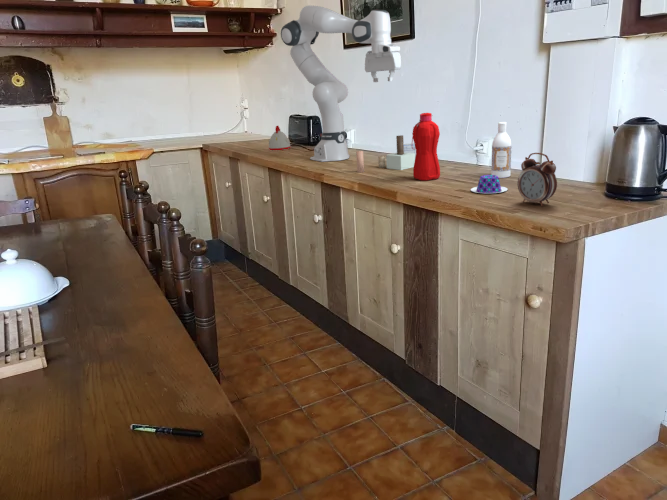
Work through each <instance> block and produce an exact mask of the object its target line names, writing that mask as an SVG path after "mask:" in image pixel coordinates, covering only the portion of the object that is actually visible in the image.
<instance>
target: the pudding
mask: <svg viewBox="0 0 667 500" xmlns="http://www.w3.org/2000/svg"><path fill="white" fill-rule="evenodd" d="M470 191H471V192H473V193H475V194H477V193H478V194H485V195H486V194H487V195H488V194H498V193H499V194H500V193H503V192H507V191H508V188H507V187H505V186H501V182H500V178H499V177H498V176H496V175H491V174H484V175H480V177H479V180H478V184H477V186H475V187H472V188H470Z"/></svg>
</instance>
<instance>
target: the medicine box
mask: <svg viewBox="0 0 667 500" xmlns="http://www.w3.org/2000/svg"><path fill="white" fill-rule="evenodd" d="M403 144H404V152H405V153H415V157H416V149H415V144H414V143H403ZM412 147H413V149H414V150H413V149H412Z"/></svg>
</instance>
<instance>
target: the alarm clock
mask: <svg viewBox="0 0 667 500" xmlns="http://www.w3.org/2000/svg"><path fill="white" fill-rule="evenodd" d="M533 155H541V156H544V157H545V158H546V160H545V161H543V162H541V163H540V162H539V161H536V160H535V159H534V158H530V157H531V156H533ZM553 162H554V160H550V158H549V156H548V155H547V154H545V153H541V152H533V153H530V154H529V155H528V156H525V158H524V160H523V161H522V163H521V164H520V165H521V166H520V167H521V172H520V173H519V176H518V178H517V189H518V192H519V194H520V196H521V197H522V198H523V201H522V203H523V204H524V203H525V201H527V202H529V203H540V205H541V207H544V204H543V202H545V201H546V202H547V204H549V203H550V202H549V199H550V198H551V197H553V196H554V195H555V193H556V191H557V188H558V179H557V176H556V174H555V173H556V170H557V166H556V164H555V163H553Z"/></svg>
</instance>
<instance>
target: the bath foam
mask: <svg viewBox="0 0 667 500" xmlns="http://www.w3.org/2000/svg"><path fill="white" fill-rule="evenodd" d="M497 124H498V125H497V133H496V135H495V137H494V138H493V140H492V144H491V167H490V168H491V170H490V171H491V173H490V175H496V176H498V177H499V179H503V178H504V179H505V178H510V176H511V169H512V149H513V148H512V147H513V146H512V140H511V137H510V136H509V134H508V133H507V121H500V122H498V123H497Z"/></svg>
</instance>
